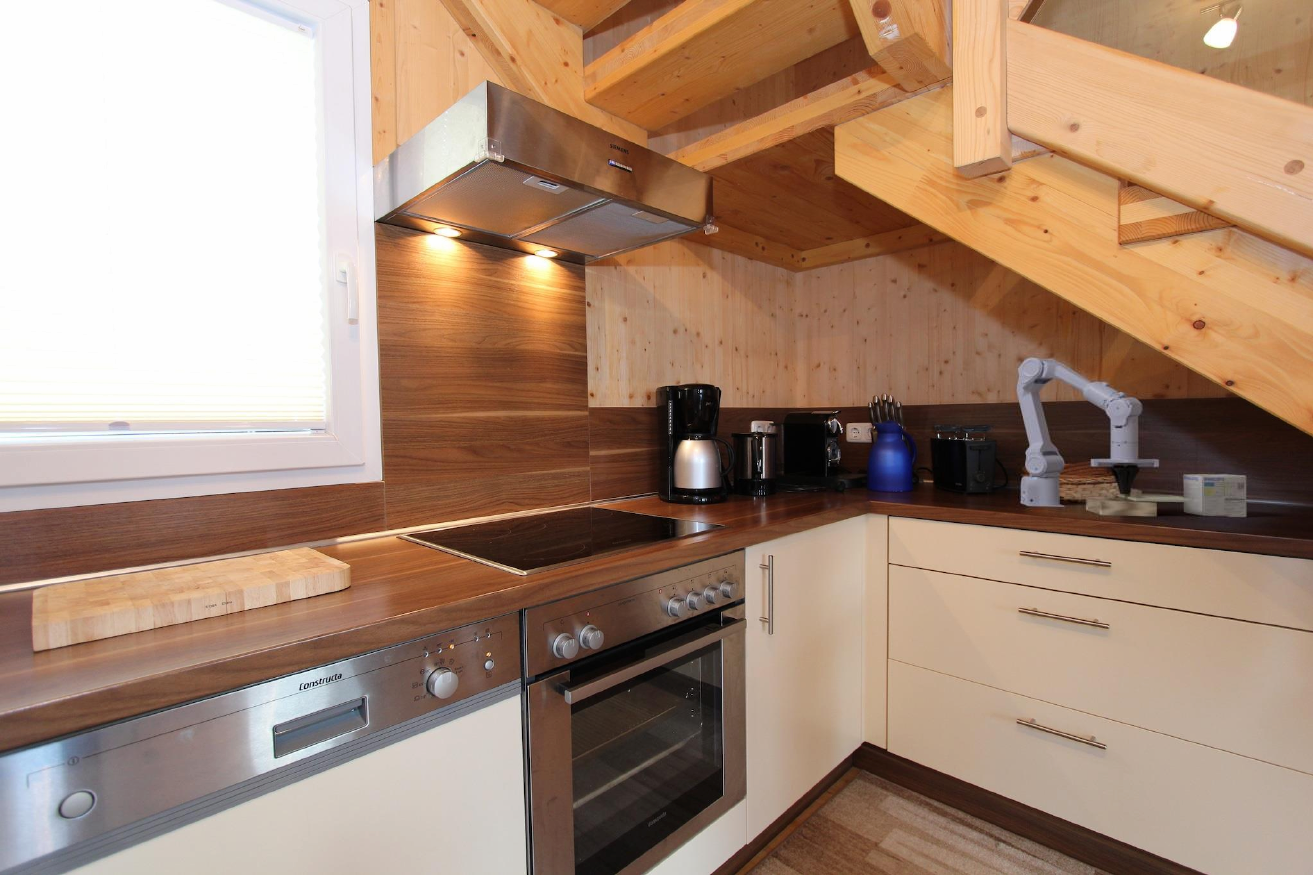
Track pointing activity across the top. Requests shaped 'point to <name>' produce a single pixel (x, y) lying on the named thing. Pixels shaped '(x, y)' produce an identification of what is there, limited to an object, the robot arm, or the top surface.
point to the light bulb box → (1215, 494)
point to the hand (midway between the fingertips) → (1124, 493)
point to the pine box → (1120, 506)
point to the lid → (1152, 497)
